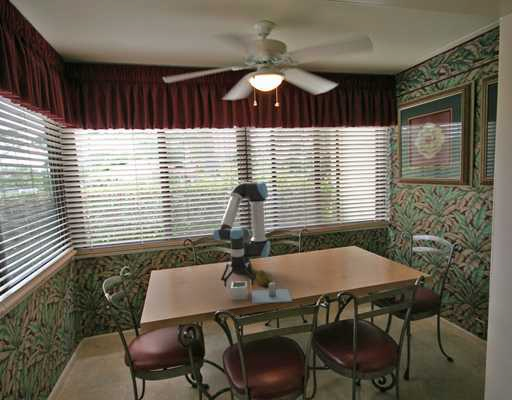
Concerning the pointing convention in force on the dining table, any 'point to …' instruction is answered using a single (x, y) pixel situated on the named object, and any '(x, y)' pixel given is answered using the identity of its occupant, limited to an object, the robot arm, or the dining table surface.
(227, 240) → the robot arm
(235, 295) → the grey open box
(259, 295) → the vent plate
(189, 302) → the dining table surface
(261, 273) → the potato
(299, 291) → the dining table surface
